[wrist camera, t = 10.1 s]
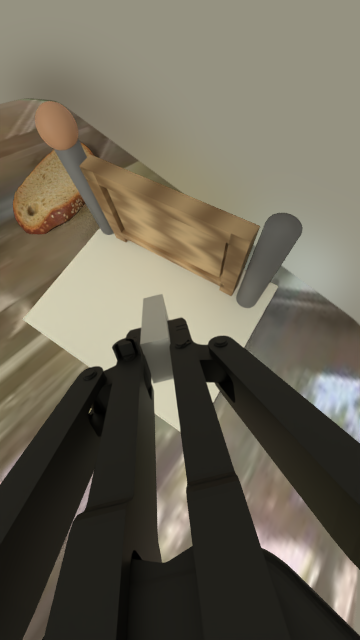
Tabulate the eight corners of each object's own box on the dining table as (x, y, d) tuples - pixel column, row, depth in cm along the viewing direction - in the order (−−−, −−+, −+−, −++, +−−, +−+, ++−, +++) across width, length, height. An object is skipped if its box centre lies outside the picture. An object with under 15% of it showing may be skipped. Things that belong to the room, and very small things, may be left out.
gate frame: (25, 320, 36) (-140, 249, 18) (117, 211, 41) (57, 75, 24) (192, 438, 29) (184, 506, 11) (275, 289, 34) (357, 180, 17)
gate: (237, 285, 33) (260, 226, 21) (231, 296, 33) (250, 241, 21) (123, 228, 38) (90, 154, 26) (116, 237, 37) (79, 166, 26)
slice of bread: (87, 143, 48) (79, 123, 44) (119, 202, 42) (111, 185, 39) (6, 178, 46) (-10, 160, 43) (27, 243, 41) (11, 229, 37)
